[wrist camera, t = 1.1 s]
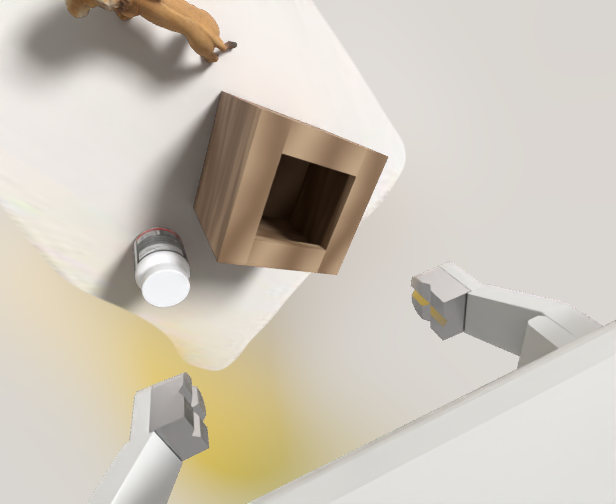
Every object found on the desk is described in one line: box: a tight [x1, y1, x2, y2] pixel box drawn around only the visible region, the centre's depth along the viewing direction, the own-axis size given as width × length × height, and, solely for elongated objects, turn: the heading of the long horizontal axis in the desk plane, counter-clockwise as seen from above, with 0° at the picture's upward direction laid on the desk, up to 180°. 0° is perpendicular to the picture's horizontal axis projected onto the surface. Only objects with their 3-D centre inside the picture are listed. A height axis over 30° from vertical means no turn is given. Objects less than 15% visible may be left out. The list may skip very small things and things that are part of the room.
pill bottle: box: [133, 227, 190, 307], centre depth 39 cm, size 6×6×10 cm
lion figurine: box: [65, 0, 237, 63], centre depth 29 cm, size 15×5×9 cm, turn 72°
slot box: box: [193, 91, 388, 275], centre depth 38 cm, size 14×14×14 cm
